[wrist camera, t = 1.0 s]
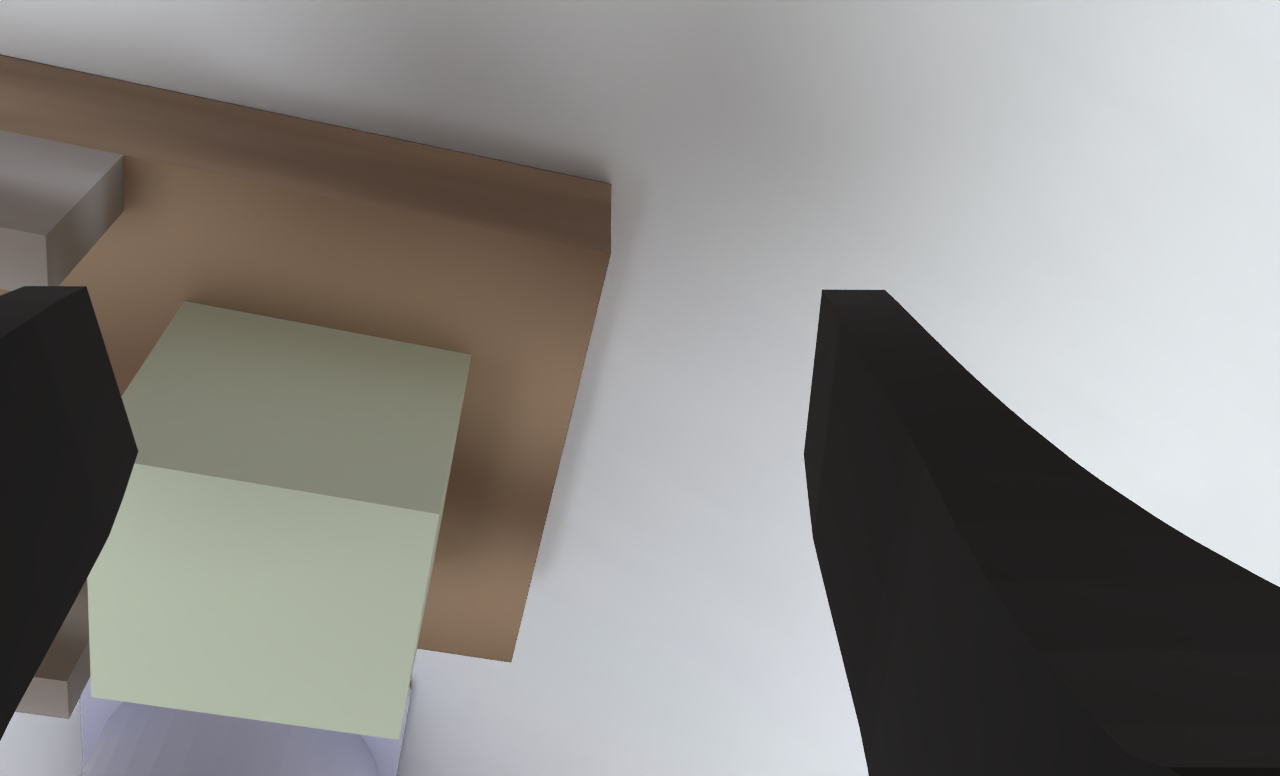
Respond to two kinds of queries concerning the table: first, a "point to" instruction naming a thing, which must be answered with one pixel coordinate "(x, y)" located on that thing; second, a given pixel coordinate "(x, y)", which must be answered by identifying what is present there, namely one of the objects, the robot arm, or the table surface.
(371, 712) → the green block
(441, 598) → the brown wooden long tray
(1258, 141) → the table surface
